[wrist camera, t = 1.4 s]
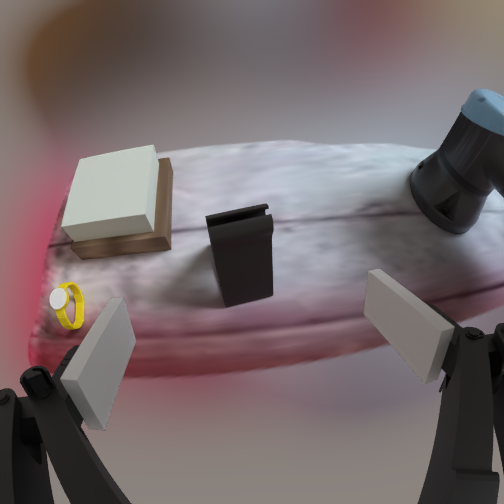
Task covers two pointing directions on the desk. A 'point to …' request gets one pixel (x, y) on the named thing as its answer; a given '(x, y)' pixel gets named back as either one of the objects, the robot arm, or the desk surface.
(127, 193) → the upper block
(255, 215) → the phone stand
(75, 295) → the watch
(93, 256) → the lower block
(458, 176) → the robot arm
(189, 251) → the desk surface
